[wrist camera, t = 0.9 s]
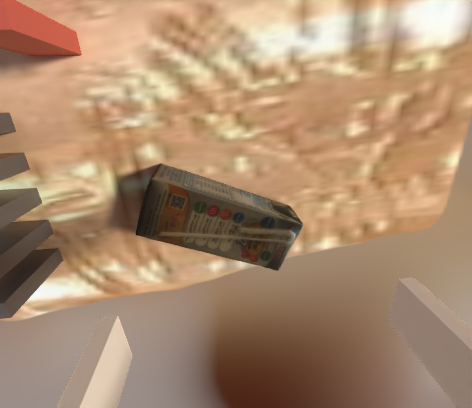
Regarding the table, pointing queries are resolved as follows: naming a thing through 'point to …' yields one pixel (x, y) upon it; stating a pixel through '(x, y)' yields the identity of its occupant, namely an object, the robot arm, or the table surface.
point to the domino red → (34, 32)
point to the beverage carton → (216, 218)
